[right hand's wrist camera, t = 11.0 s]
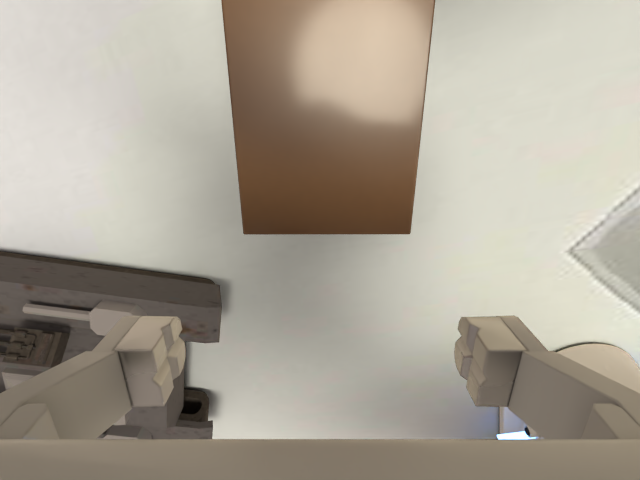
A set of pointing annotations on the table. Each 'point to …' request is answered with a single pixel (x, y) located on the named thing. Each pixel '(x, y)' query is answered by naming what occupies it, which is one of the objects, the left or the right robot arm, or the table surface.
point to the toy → (102, 329)
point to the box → (327, 112)
